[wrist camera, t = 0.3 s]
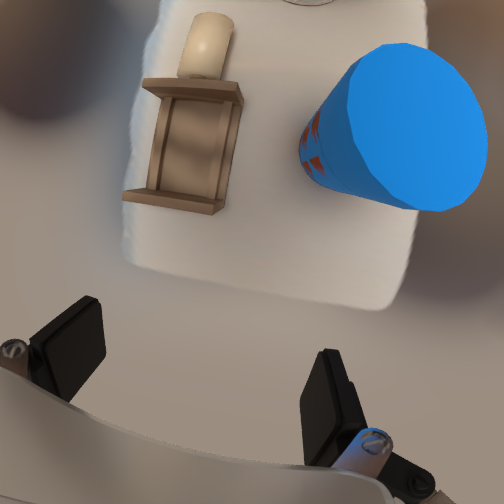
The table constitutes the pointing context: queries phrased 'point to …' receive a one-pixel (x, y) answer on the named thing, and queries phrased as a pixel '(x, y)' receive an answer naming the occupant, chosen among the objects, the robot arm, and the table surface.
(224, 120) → the cradle
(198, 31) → the kraft roll
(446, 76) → the thermos
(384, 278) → the table surface
